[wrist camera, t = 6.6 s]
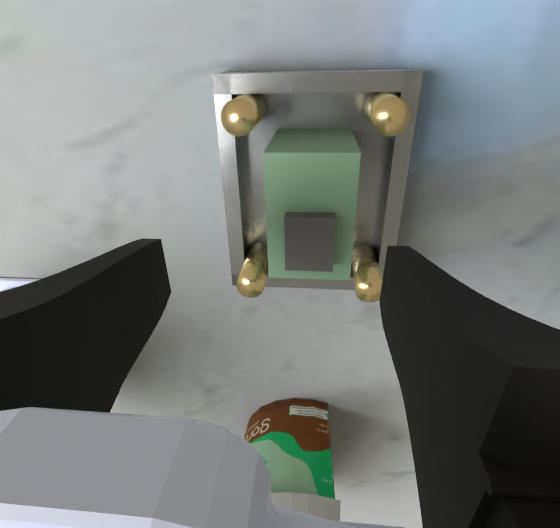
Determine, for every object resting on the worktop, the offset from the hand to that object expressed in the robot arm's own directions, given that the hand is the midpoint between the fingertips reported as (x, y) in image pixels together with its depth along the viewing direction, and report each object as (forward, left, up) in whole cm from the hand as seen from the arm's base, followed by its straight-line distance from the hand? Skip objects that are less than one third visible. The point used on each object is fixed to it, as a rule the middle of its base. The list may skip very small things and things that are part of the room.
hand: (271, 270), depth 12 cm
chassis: (0, -1, -10) cm, 10 cm away
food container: (-21, +2, -10) cm, 23 cm away
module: (0, -1, -9) cm, 9 cm away
